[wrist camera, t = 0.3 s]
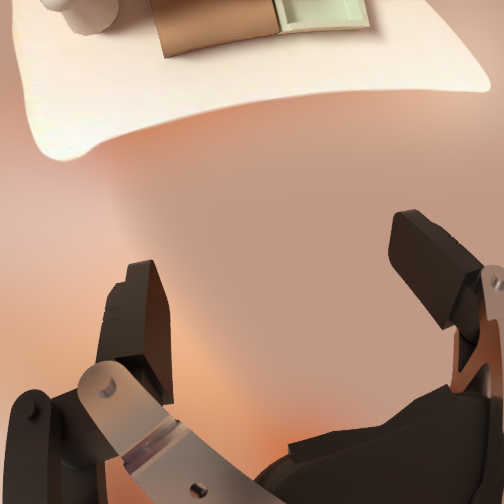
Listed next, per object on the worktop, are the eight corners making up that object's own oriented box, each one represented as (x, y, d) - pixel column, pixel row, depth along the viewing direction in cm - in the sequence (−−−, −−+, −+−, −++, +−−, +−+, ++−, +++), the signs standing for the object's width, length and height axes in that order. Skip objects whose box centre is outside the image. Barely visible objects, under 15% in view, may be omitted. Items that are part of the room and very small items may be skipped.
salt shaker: (70, 4, 22) (24, -28, 11) (118, -14, 22) (93, -59, 11) (77, 46, 25) (30, 28, 14) (126, 28, 26) (100, -3, 14)
